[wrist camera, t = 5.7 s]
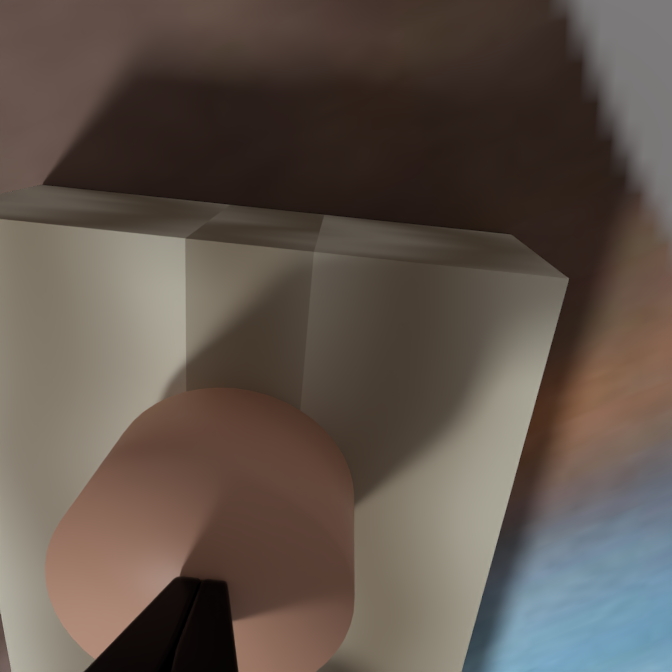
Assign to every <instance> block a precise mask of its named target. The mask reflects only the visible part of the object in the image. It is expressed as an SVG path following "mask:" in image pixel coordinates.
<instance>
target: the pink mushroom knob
mask: <svg viewBox="0 0 672 672" xmlns="http://www.w3.org/2000/svg"><path fill="white" fill-rule="evenodd" d="M178 576H183V577H193V578H199V579H200V580H201V582H202V581H203V580H204V579H213V580H223V581H226V582H227V584H228V590H229V598H230V606H231V614H232V622H233V630H234V638H235V647H236V655H237V663H238V671H239V672H316V671H317V670H318V669H319V668H321V667H322V666H323V665H324V664H325V663H327V661H328V660H329V659H330V658H331V657H332V656H333V655H334V654H335V653H336V651H337V650H338V648H339V647H340V645H341V644H342V642H343V641H344V639H345V637H346V635H347V632H348V630H349V628H350V625H351V621H352V617H353V613H354V600H355V560H354V488H353V481H352V477H351V473H350V470H349V467H348V465H347V462H346V460H345V458H344V456H343V454H342V452H341V451H340V449H339V447H338V446H337V444H336V443H335V442H334V440H333V439H332V438H331V437H330V436H329V434H328V433H327V432H326V431H325V430H324V429H323V428H322V427H321V426H320V425H319V424H318V423H317V422H315V421H314V420H313V419H312V418H310V417H309V416H308V415H306V414H305V413H303V412H302V411H301V410H299V409H297V408H295V407H293V406H292V405H290V404H288V403H286V402H284V401H281V400H279V399H276V398H274V397H272V396H269V395H265V394H262V393H258V392H254V391H250V390H243V389H237V388H204V389H197V390H192V391H187V392H183V393H180V394H177V395H174V396H171V397H168V398H166V399H164V400H162V401H160V402H158V403H156V404H154V405H153V406H151V407H150V408H148V409H147V410H145V411H144V412H143V413H141V414H140V415H139V416H138V417H137V418H136V419H135V420H134V421H133V422H132V423H131V424H130V425H129V427H128V428H127V429H126V430H125V432H124V433H123V434H122V436H121V437H120V438H119V440H118V441H117V443H116V444H115V445H114V447H113V448H112V450H111V451H110V452H109V454H108V455H107V457H106V458H105V459H104V461H103V462H102V464H101V465H100V466H99V468H98V469H97V471H96V472H95V473H94V475H93V476H92V478H91V479H90V480H89V482H88V483H87V485H86V486H85V487H84V489H83V490H82V492H81V493H80V494H79V496H78V497H77V498H76V500H75V501H74V503H73V504H72V505H71V507H70V508H69V510H68V511H67V512H66V514H65V515H64V517H63V518H62V519H61V521H60V522H59V524H58V526H57V528H56V529H55V531H54V533H53V535H52V537H51V540H50V543H49V546H48V549H47V554H46V561H45V580H46V586H47V590H48V595H49V598H50V601H51V603H52V606H53V608H54V611H55V613H56V615H57V616H58V618H59V620H60V621H61V623H62V625H63V626H64V628H65V629H66V630H67V632H68V633H69V634H70V636H71V637H72V638H73V639H74V640H75V641H76V642H77V643H78V644H79V645H80V646H81V647H82V649H83V650H84V651H86V652H87V653H88V654H89V655H90V656H92V657H93V658H94V659H96V658H97V657H98V656H99V655H100V654H101V653H102V652H103V651H104V650H105V649H106V648H107V647H108V646H109V645H110V644H111V643H112V642H113V641H114V640H115V639H116V638H117V637H118V636H119V635H120V634H121V633H122V632H123V630H124V629H125V628H126V627H127V626H128V625H129V624H130V623H131V622H132V621H133V620H134V619H135V618H136V617H137V616H138V615H139V614H140V613H141V612H142V611H143V610H144V609H145V608H146V607H147V606H148V605H149V604H150V603H151V602H152V601H153V599H154V598H155V597H156V596H157V595H158V594H159V593H160V592H161V591H162V590H163V589H164V588H165V587H166V586H167V585H168V584H169V583H170V582H171V581H172V580H173V579H174V578H176V577H178Z"/></svg>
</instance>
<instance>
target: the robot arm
mask: <svg viewBox="0 0 672 672" xmlns="http://www.w3.org/2000/svg"><path fill="white" fill-rule="evenodd" d="M84 672H239V671H238V663H237V655H236V647H235V638H234V630H233V622H232V614H231V606H230V598H229V590H228V584H227V582H226V581H223V580H213V579H204V580H203V581H202V582H201V580H200V579H199V578H193V577H183V576H178V577H176V578H174V579H173V580H172V581H171V582H170V583H169V584H168V585H167V586H166V587H165V588H164V589H163V590H162V591H161V592H160V593H159V594H158V595H157V596H156V597H155V598H154V599H153V601H152V602H151V603H150V604H149V605H148V606H147V607H146V608H145V609H144V610H143V611H142V612H141V613H140V614H139V615H138V616H137V617H136V618H135V619H134V620H133V621H132V622H131V623H130V624H129V625H128V626H127V627H126V628H125V629H124V630H123V632H122V633H121V634H120V635H119V636H118V637H117V638H116V639H115V640H114V641H113V642H112V643H111V644H110V645H109V646H108V647H107V648H106V649H105V650H104V651H103V652H102V653H101V654H100V655H99V656H98V657H97V658H96V659H95V660H94V662H93V663H92V664H91V665H90V666H89V667H88V668H87V669H86V670H85V671H84Z"/></svg>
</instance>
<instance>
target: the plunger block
mask: <svg viewBox="0 0 672 672" xmlns="http://www.w3.org/2000/svg"><path fill="white" fill-rule="evenodd" d="M568 281H569V278H568V277H566V276H565V275H564V274H562V273H561V272H560V271H558V270H557V269H556V268H554V267H553V266H552V265H551V264H549V263H548V262H547V261H545V260H544V259H543V258H541V257H540V256H539V255H537V254H536V253H535V252H534V251H532V250H531V249H530V248H528V247H527V246H526V245H524V244H523V243H522V242H520V241H519V240H518V239H517V238H515V237H514V236H513V235H511V234H501V233H492V232H483V231H473V230H464V229H454V228H445V227H435V226H426V225H416V224H407V223H398V222H388V221H379V220H369V219H360V218H350V217H341V216H331V215H322V214H313V213H303V212H294V211H284V210H275V209H265V208H256V207H246V206H237V205H228V204H218V203H209V202H199V201H190V200H180V199H171V198H162V197H152V196H143V195H133V194H124V193H114V192H105V191H95V190H86V189H77V188H67V187H58V186H48V185H37V186H33V187H29V188H24V189H20V190H16V191H11V192H7V193H2V194H0V612H1V617H2V623H3V628H4V633H5V639H6V644H7V650H8V655H9V660H10V666H11V671H12V672H84V671H85V670H86V669H87V668H88V667H89V666H90V665H91V664H92V663H93V662H94V660H95V659H94V658H93V657H92V656H90V655H89V654H88V653H87V652H86V651H84V650H83V649H82V647H81V646H80V645H79V644H78V643H77V642H76V641H75V640H74V639H73V638H72V637H71V636H70V634H69V633H68V632H67V630H66V629H65V628H64V626H63V625H62V623H61V621H60V620H59V618H58V616H57V615H56V613H55V611H54V608H53V606H52V603H51V601H50V598H49V595H48V590H47V586H46V580H45V561H46V554H47V549H48V546H49V543H50V540H51V537H52V535H53V533H54V531H55V529H56V528H57V526H58V524H59V522H60V521H61V519H62V518H63V517H64V515H65V514H66V512H67V511H68V510H69V508H70V507H71V505H72V504H73V503H74V501H75V500H76V498H77V497H78V496H79V494H80V493H81V492H82V490H83V489H84V487H85V486H86V485H87V483H88V482H89V480H90V479H91V478H92V476H93V475H94V473H95V472H96V471H97V469H98V468H99V466H100V465H101V464H102V462H103V461H104V459H105V458H106V457H107V455H108V454H109V452H110V451H111V450H112V448H113V447H114V445H115V444H116V443H117V441H118V440H119V438H120V437H121V436H122V434H123V433H124V432H125V430H126V429H127V428H128V427H129V425H130V424H131V423H132V422H133V421H134V420H135V419H136V418H137V417H138V416H139V415H140V414H141V413H143V412H144V411H145V410H147V409H148V408H150V407H151V406H153V405H154V404H156V403H158V402H160V401H162V400H164V399H166V398H168V397H171V396H174V395H177V394H180V393H183V392H187V391H192V390H197V389H204V388H237V389H243V390H250V391H254V392H258V393H262V394H265V395H269V396H272V397H274V398H276V399H279V400H281V401H284V402H286V403H288V404H290V405H292V406H293V407H295V408H297V409H299V410H301V411H302V412H303V413H305V414H306V415H308V416H309V417H310V418H312V419H313V420H314V421H315V422H317V423H318V424H319V425H320V426H321V427H322V428H323V429H324V430H325V431H326V432H327V433H328V434H329V436H330V437H331V438H332V439H333V440H334V442H335V443H336V444H337V446H338V447H339V449H340V451H341V452H342V454H343V456H344V458H345V460H346V462H347V465H348V467H349V470H350V473H351V477H352V481H353V488H354V560H355V600H354V613H353V617H352V621H351V625H350V628H349V630H348V632H347V635H346V637H345V639H344V641H343V642H342V644H341V645H340V647H339V648H338V650H337V651H336V653H335V654H334V655H333V656H332V657H331V658H330V659H329V660H328V661H327V663H325V664H324V665H323V666H322V667H321V668H319V669H318V670H317V671H316V672H462V668H463V664H464V661H465V657H466V654H467V650H468V646H469V643H470V639H471V635H472V632H473V628H474V624H475V621H476V617H477V613H478V610H479V606H480V602H481V599H482V595H483V591H484V588H485V584H486V581H487V577H488V573H489V570H490V566H491V562H492V559H493V555H494V551H495V548H496V544H497V540H498V537H499V533H500V529H501V526H502V522H503V518H504V515H505V511H506V507H507V504H508V500H509V497H510V493H511V489H512V486H513V482H514V478H515V475H516V471H517V467H518V464H519V460H520V456H521V453H522V449H523V445H524V442H525V438H526V434H527V431H528V427H529V424H530V420H531V416H532V413H533V409H534V405H535V402H536V398H537V394H538V391H539V387H540V383H541V380H542V376H543V372H544V369H545V365H546V361H547V358H548V354H549V350H550V347H551V343H552V340H553V336H554V332H555V329H556V325H557V321H558V318H559V314H560V310H561V307H562V303H563V299H564V296H565V292H566V288H567V285H568Z"/></svg>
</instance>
